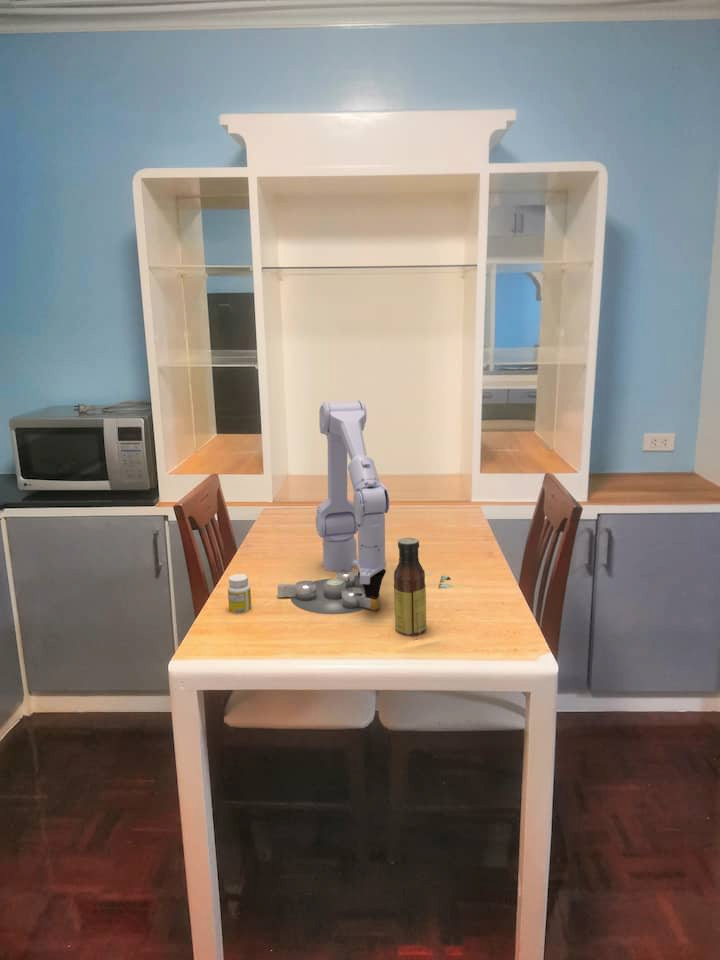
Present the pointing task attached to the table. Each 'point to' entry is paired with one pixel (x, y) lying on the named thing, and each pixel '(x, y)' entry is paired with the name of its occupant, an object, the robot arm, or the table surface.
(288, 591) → the silver metal rounded piece
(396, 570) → the sauce bottle
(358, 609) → the tribrach plate
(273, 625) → the table surface
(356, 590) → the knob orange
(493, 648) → the table surface
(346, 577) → the knob black
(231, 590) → the supplement bottle
